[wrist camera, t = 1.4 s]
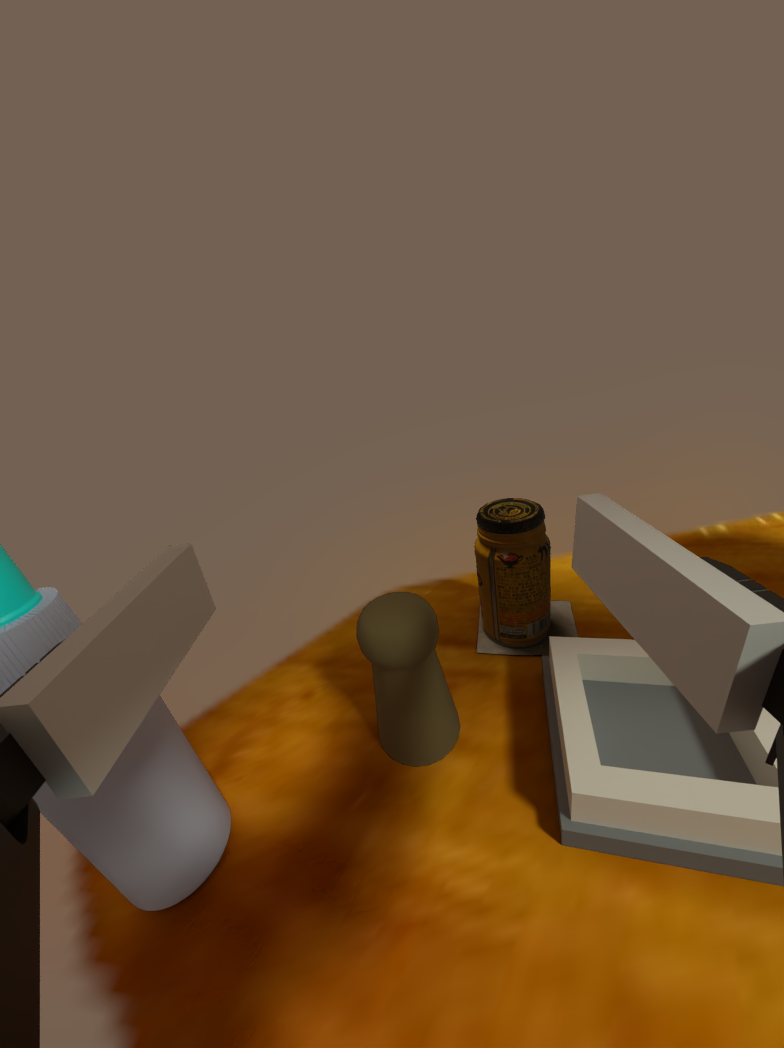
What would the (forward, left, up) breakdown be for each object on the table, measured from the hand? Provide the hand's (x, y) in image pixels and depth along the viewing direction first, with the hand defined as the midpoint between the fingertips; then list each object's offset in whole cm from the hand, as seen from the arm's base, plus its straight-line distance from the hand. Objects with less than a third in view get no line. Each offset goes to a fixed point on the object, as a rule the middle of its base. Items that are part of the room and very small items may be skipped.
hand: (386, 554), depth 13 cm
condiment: (-5, -18, -19) cm, 27 cm away
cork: (+3, -7, -19) cm, 21 cm away
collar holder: (-12, -7, -19) cm, 24 cm away
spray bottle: (+16, +3, -19) cm, 25 cm away
